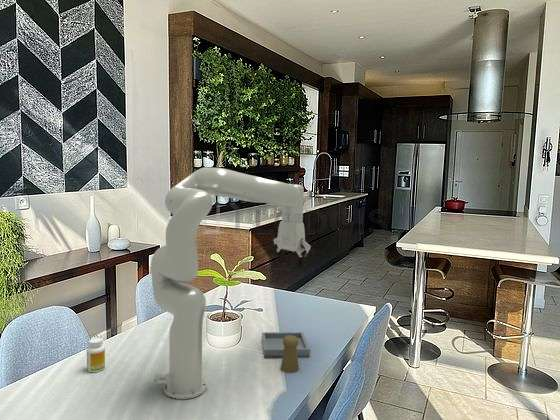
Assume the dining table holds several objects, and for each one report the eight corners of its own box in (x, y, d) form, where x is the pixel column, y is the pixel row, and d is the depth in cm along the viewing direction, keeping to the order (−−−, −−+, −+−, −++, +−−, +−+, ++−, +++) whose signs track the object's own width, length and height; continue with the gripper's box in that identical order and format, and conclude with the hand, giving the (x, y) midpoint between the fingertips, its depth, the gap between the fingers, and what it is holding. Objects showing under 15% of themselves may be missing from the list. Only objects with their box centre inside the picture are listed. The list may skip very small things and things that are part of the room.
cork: (297, 373, 145) (298, 341, 144) (279, 371, 146) (280, 339, 145) (300, 365, 151) (301, 334, 150) (282, 363, 152) (283, 332, 151)
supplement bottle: (108, 367, 145) (108, 338, 144) (95, 374, 140) (94, 344, 139) (96, 363, 147) (96, 335, 146) (83, 370, 143) (82, 341, 142)
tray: (264, 358, 155) (264, 349, 155) (261, 339, 171) (261, 332, 171) (309, 357, 157) (309, 349, 157) (302, 339, 173) (302, 332, 173)
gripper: (268, 216, 163) (266, 262, 165) (303, 222, 151) (301, 271, 153) (282, 215, 169) (280, 259, 171) (317, 220, 157) (315, 267, 159)
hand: (290, 265), depth 162 cm, fingers open, 9 cm apart
